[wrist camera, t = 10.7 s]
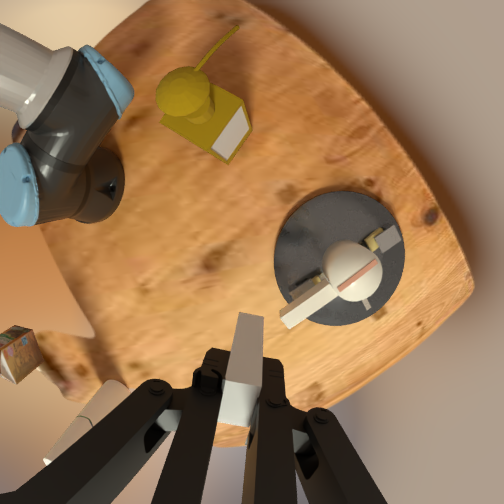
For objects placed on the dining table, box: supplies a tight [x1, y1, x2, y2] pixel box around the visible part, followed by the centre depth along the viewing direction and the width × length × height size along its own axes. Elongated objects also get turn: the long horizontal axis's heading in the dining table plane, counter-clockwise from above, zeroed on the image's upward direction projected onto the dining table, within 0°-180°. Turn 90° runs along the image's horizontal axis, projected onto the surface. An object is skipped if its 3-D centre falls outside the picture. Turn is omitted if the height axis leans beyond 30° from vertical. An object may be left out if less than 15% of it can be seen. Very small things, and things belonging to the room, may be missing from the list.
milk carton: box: [0, 325, 44, 384], centre depth 48 cm, size 11×11×19 cm
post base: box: [274, 191, 405, 326], centre depth 44 cm, size 24×24×4 cm
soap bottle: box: [156, 25, 252, 165], centre depth 31 cm, size 7×13×24 cm, turn 146°
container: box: [43, 380, 131, 465], centre depth 42 cm, size 9×9×30 cm
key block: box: [280, 227, 383, 329], centre depth 41 cm, size 22×8×8 cm, turn 128°
